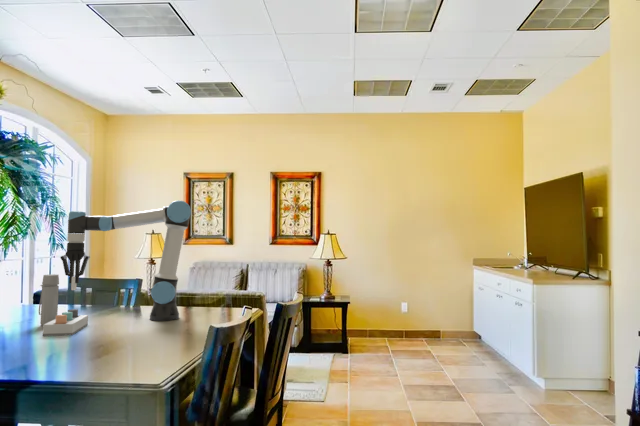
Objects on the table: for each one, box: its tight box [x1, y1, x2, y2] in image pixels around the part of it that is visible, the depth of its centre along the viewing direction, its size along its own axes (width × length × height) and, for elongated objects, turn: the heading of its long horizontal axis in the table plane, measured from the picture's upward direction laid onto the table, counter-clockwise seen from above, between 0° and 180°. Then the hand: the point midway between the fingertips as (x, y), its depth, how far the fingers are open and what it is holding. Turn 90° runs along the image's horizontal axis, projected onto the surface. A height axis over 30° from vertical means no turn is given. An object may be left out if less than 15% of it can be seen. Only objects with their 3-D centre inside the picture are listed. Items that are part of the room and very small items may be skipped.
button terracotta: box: [55, 314, 67, 324], centre depth 197 cm, size 4×4×5 cm
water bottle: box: [38, 273, 60, 327], centre depth 216 cm, size 9×8×25 cm
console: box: [42, 314, 89, 337], centre depth 204 cm, size 12×22×5 cm, turn 12°
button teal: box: [61, 311, 73, 321], centre depth 204 cm, size 4×4×5 cm
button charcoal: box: [67, 308, 79, 318], centre depth 212 cm, size 4×4×5 cm
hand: (73, 289), depth 212 cm, fingers closed
